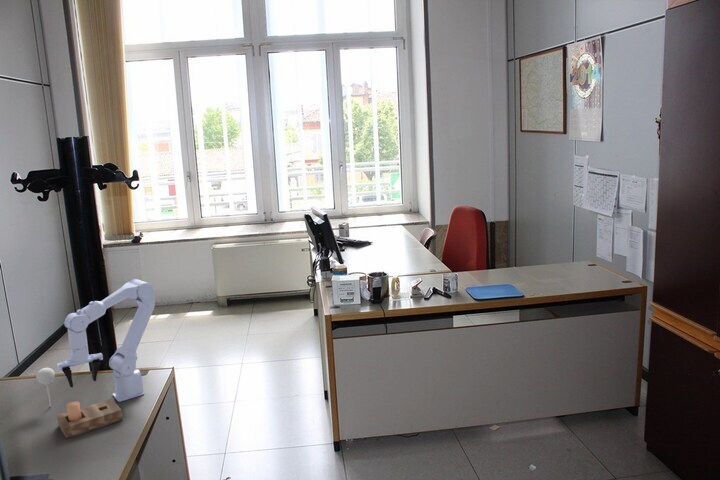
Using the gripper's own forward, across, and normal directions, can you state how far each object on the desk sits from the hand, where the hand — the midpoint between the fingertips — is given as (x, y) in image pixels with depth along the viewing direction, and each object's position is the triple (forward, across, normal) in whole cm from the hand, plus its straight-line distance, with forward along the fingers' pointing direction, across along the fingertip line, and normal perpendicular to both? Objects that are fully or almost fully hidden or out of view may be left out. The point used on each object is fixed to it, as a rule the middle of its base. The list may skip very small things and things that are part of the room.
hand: (83, 383), depth 212 cm
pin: (+10, +6, +11) cm, 16 cm away
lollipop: (+11, +9, -12) cm, 19 cm away
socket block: (+10, +1, +11) cm, 15 cm away
